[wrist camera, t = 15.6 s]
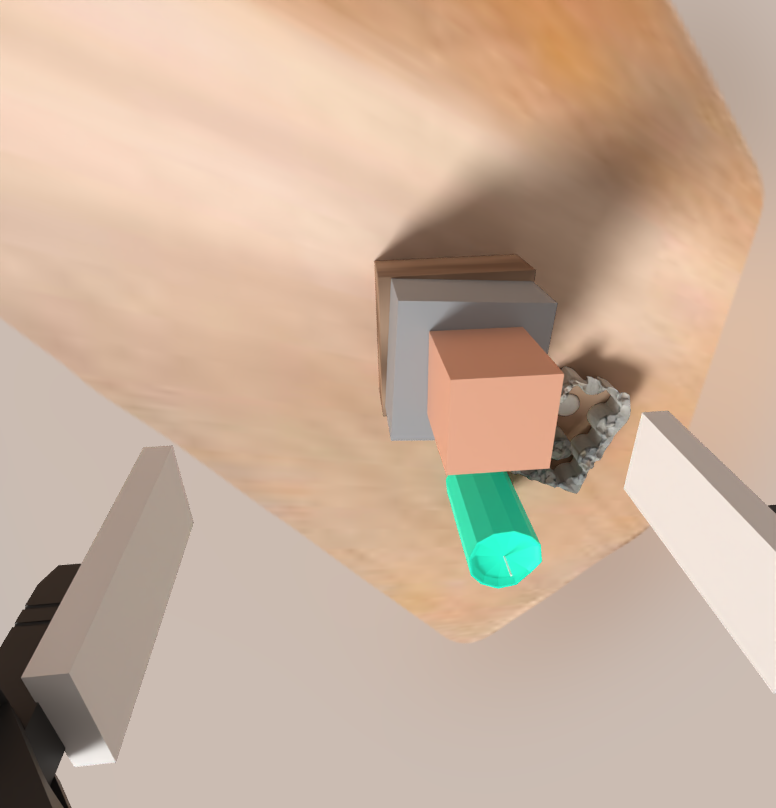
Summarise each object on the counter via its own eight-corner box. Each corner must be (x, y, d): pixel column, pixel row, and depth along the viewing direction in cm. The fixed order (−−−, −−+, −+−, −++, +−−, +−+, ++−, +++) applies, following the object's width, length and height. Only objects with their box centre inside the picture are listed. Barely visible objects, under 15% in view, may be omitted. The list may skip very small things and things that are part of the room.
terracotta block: (429, 331, 34) (450, 380, 28) (522, 326, 34) (564, 373, 28) (427, 414, 37) (446, 475, 31) (513, 409, 37) (549, 468, 31)
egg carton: (553, 356, 47) (571, 376, 43) (623, 383, 49) (646, 405, 45) (495, 453, 51) (507, 479, 47) (562, 475, 53) (578, 502, 49)
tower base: (374, 259, 42) (378, 277, 37) (515, 253, 42) (535, 269, 38) (378, 387, 47) (383, 416, 42) (504, 380, 47) (521, 407, 43)
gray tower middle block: (391, 278, 37) (398, 300, 33) (532, 281, 38) (557, 303, 34) (385, 406, 42) (390, 440, 38) (510, 405, 43) (530, 439, 39)
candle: (457, 513, 54) (486, 612, 43) (436, 469, 51) (461, 563, 41) (514, 492, 53) (558, 587, 43) (496, 446, 50) (538, 535, 40)
